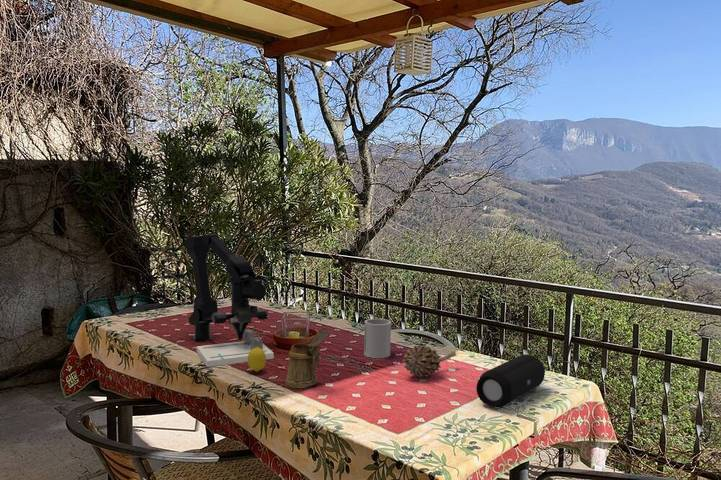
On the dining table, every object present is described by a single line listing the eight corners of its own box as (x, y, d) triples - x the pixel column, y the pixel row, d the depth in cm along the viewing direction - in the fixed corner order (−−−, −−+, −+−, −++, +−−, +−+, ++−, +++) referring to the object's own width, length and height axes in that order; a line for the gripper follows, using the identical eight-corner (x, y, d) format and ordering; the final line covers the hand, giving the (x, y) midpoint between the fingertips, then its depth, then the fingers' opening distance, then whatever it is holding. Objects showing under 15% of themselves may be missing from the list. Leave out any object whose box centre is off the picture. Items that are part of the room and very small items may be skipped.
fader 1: (243, 341, 191) (243, 329, 191) (251, 340, 192) (251, 329, 192) (246, 343, 188) (246, 332, 187) (254, 342, 189) (254, 331, 189)
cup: (395, 355, 185) (396, 321, 184) (378, 361, 178) (379, 326, 177) (375, 350, 191) (376, 317, 190) (358, 355, 185) (359, 321, 184)
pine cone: (419, 386, 155) (420, 353, 155) (395, 377, 162) (396, 345, 162) (464, 370, 170) (465, 340, 169) (441, 363, 177) (441, 334, 176)
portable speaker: (506, 415, 136) (508, 377, 135) (472, 404, 142) (473, 368, 142) (547, 389, 155) (548, 356, 154) (515, 381, 161) (516, 349, 160)
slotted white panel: (196, 352, 185) (196, 346, 185) (258, 345, 195) (258, 339, 195) (207, 367, 169) (207, 360, 169) (273, 358, 179) (273, 352, 179)
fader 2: (250, 350, 180) (250, 338, 180) (259, 348, 182) (259, 337, 181) (253, 353, 177) (253, 341, 176) (262, 352, 178) (262, 340, 178)
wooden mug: (314, 394, 147) (315, 331, 146) (279, 384, 155) (279, 323, 153) (334, 385, 154) (335, 325, 153) (299, 376, 162) (300, 318, 161)
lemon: (261, 375, 162) (261, 350, 161) (244, 374, 163) (244, 348, 162) (268, 370, 167) (268, 345, 167) (252, 368, 168) (252, 343, 168)
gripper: (218, 302, 176) (218, 348, 177) (272, 298, 184) (272, 342, 186) (211, 296, 186) (211, 340, 187) (263, 293, 194) (262, 335, 195)
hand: (239, 339), depth 188 cm, fingers closed
